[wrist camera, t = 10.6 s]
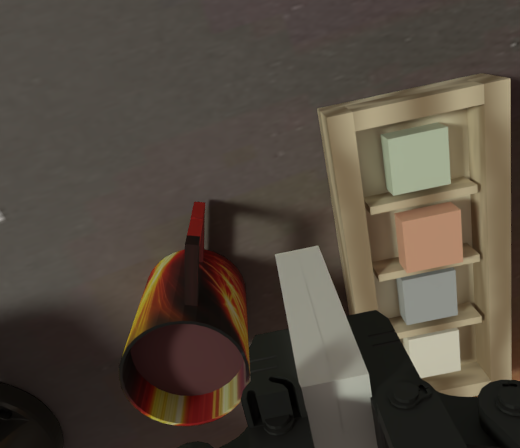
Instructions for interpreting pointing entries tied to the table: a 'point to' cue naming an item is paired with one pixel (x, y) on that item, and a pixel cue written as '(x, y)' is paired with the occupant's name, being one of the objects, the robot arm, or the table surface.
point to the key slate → (427, 296)
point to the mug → (189, 337)
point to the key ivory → (434, 352)
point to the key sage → (416, 158)
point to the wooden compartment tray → (458, 192)
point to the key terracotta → (429, 237)
